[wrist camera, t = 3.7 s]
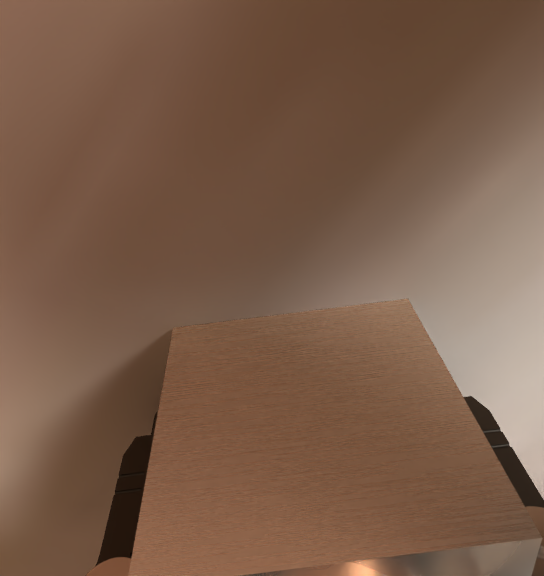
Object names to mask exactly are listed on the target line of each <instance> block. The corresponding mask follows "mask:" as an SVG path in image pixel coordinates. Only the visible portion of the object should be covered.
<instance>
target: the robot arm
mask: <svg viewBox="0 0 544 576" xmlns="http://www.w3.org/2000/svg"><path fill="white" fill-rule="evenodd" d="M463 398H464V399H465V401H466V403H467V405H468V406H469V408H470V410H471V412H472V414H473V415H474V417H475V419H476V421H477V422H478V424H479V426H480V428H481V430H482V431H483V433H484V435H485V437H486V438H487V440H488V442H489V444H490V446H491V447H492V449H493V451H494V453H495V455H496V456H497V458H498V460H499V462H500V463H501V465H502V467H503V469H504V471H505V472H506V474H507V476H508V478H509V479H510V481H511V483H512V485H513V487H514V488H515V490H516V492H517V494H518V495H519V497H520V499H521V501H522V503H523V504H524V506H525V508H526V510H527V511H528V513H529V515H530V517H531V519H532V520H533V522H534V524H535V526H536V527H537V529H538V531H539V533H540V535H541V536H542V541H541V544H540V548H539V551H538V555H537V558H536V562H535V565H534V569H533V572H532V576H544V500H543V498H542V497H541V495H540V493H539V492H538V490H537V488H536V487H535V485H534V483H533V482H532V480H531V479H530V477H529V475H528V474H527V472H526V470H525V469H524V467H523V465H522V464H521V462H520V460H519V459H518V457H517V455H516V454H515V452H514V450H513V449H512V447H510V446H509V442H508V441H507V439H506V437H505V436H504V434H503V432H501V431H500V427H499V426H498V424H497V422H496V421H495V419H494V417H493V416H492V414H491V412H490V411H489V410H488V409H487V408H486V407H484V406H483V405H482V404H481V403H479V402H478V401H477V400H476V399H474V398H473V397H472V396H469V397H463ZM157 415H158V412H157V413H156V414H155V418H154V423H153V428H152V433H151V435H148V436H140V437H136V438H135V439H134V441H133V442H132V444H131V445H130V446H129V448H128V449H127V451H126V452H125V454H124V455H123V459H122V463H121V468H120V472H119V479H118V480H117V484H116V489H115V495H114V497H113V501H112V505H111V510H110V514H109V518H108V522H107V526H106V530H105V535H104V539H103V543H102V547H101V551H100V556H99V559H98V562H97V564H96V566H95V567H94V568H93V569H92V570H91V571H90V572H88V573H87V574H86V576H128V574H129V569H130V563H131V558H132V552H133V547H134V541H135V536H136V530H137V525H138V519H139V514H140V508H141V503H142V497H143V492H144V486H145V481H146V475H147V470H148V464H149V459H150V453H151V448H152V442H153V437H154V431H155V426H156V420H157Z"/></svg>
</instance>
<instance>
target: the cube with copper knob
mask: <svg viewBox="0 0 544 576" xmlns="http://www.w3.org/2000/svg"><path fill="white" fill-rule="evenodd" d="M541 541H542V536H541V535H540V533H539V531H538V529H537V527H536V526H535V524H534V522H533V520H532V519H531V517H530V515H529V513H528V511H527V510H526V508H525V506H524V504H523V503H522V501H521V499H520V497H519V495H518V494H517V492H516V490H515V488H514V487H513V485H512V483H511V481H510V479H509V478H508V476H507V474H506V472H505V471H504V469H503V467H502V465H501V463H500V462H499V460H498V458H497V456H496V455H495V453H494V451H493V449H492V447H491V446H490V444H489V442H488V440H487V438H486V437H485V435H484V433H483V431H482V430H481V428H480V426H479V424H478V422H477V421H476V419H475V417H474V415H473V414H472V412H471V410H470V408H469V406H468V405H467V403H466V401H465V399H464V398H463V396H462V394H461V392H460V390H459V389H458V387H457V385H456V383H455V382H454V380H453V378H452V376H451V374H450V373H449V371H448V369H447V367H446V366H445V364H444V362H443V360H442V358H441V357H440V355H439V353H438V351H437V349H436V348H435V346H434V344H433V342H432V341H431V339H430V337H429V335H428V333H427V332H426V330H425V328H424V326H423V325H422V323H421V321H420V319H419V317H418V316H417V314H416V312H415V310H414V309H413V307H412V305H411V303H410V301H409V300H408V299H401V300H393V301H385V302H377V303H369V304H361V305H353V306H344V307H336V308H328V309H320V310H312V311H304V312H296V313H288V314H280V315H272V316H264V317H256V318H248V319H240V320H232V321H223V322H215V323H207V324H199V325H191V326H183V327H175V328H173V332H172V337H171V343H170V348H169V354H168V359H167V365H166V370H165V376H164V382H163V387H162V393H161V398H160V404H159V409H158V415H157V420H156V426H155V431H154V437H153V442H152V448H151V453H150V459H149V464H148V470H147V475H146V481H145V486H144V492H143V497H142V503H141V508H140V514H139V519H138V525H137V530H136V536H135V541H134V547H133V552H132V558H131V563H130V569H129V574H128V576H532V572H533V569H534V565H535V562H536V558H537V555H538V551H539V548H540V544H541Z"/></svg>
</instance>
